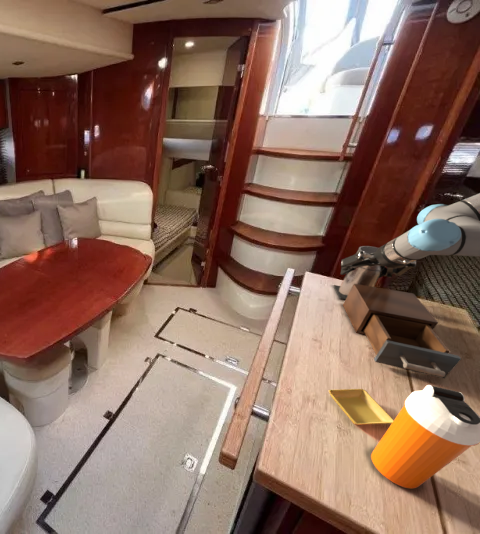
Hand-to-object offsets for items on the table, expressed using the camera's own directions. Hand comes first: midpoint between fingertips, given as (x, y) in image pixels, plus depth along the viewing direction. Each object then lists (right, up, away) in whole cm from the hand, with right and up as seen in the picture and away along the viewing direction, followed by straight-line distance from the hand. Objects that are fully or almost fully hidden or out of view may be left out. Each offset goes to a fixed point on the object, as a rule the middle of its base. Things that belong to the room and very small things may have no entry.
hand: (357, 273), depth 107 cm
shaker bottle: (-37, -37, -48) cm, 71 cm away
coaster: (-1, -8, +1) cm, 8 cm away
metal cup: (-1, -7, +1) cm, 7 cm away
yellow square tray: (-35, -31, -37) cm, 60 cm away
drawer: (-11, -22, -25) cm, 35 cm away
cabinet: (-5, -16, -12) cm, 20 cm away
